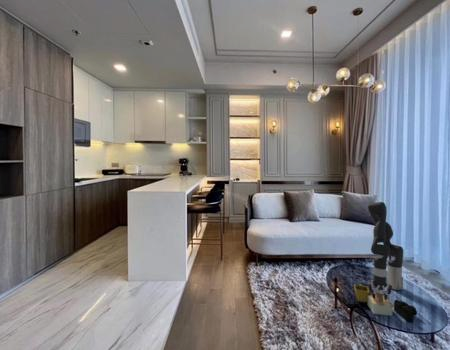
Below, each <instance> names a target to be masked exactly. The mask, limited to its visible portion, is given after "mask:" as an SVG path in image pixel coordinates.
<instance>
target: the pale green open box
mask: <svg viewBox="0 0 450 350" xmlns="http://www.w3.org/2000/svg"><path fill="white" fill-rule="evenodd" d="M367 306H368V308H369V309H370V311H371V313H373V314H374V315H383V316H393V307H391V306H381V305H373V304H372V302H371V301H370V299H369V298H368V301H367Z"/></svg>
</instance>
